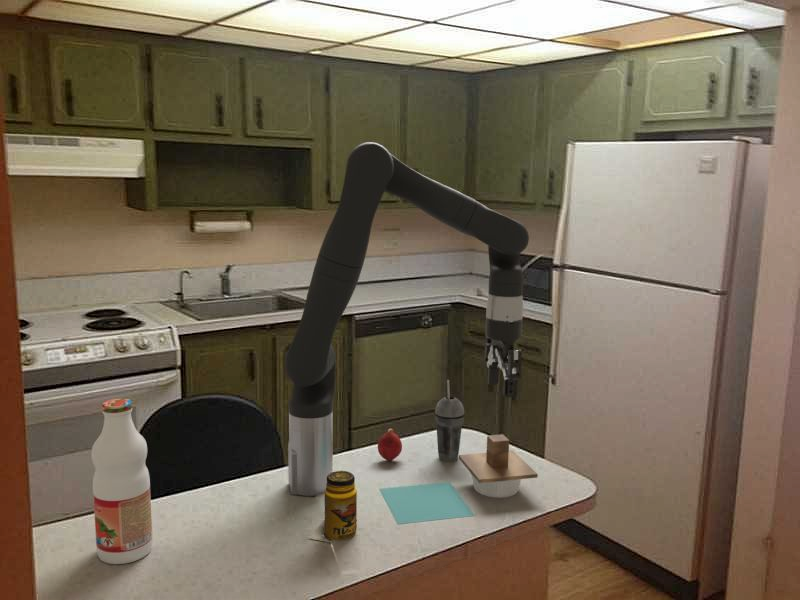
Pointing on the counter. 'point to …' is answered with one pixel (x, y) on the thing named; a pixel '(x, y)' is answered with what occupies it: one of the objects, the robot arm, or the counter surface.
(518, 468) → the lid
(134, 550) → the fruit juice
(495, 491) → the ramekin
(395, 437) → the pomegranate
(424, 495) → the mat
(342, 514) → the condiment
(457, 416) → the beverage cup
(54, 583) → the counter surface
